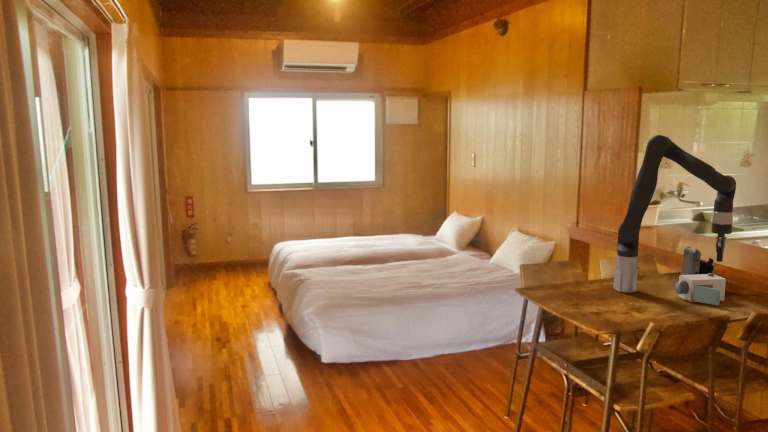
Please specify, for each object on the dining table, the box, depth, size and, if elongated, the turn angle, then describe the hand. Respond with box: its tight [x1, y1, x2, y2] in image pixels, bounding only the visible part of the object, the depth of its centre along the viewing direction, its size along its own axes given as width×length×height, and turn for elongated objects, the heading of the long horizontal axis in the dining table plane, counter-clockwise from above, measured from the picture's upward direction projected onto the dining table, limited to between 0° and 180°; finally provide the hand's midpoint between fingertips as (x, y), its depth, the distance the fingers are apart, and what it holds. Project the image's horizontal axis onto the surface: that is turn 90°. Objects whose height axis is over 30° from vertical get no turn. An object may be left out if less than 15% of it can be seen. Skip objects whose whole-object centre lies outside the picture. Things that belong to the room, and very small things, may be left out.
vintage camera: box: [680, 246, 716, 275], centre depth 270 cm, size 10×15×20 cm, turn 89°
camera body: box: [674, 272, 727, 303], centre depth 253 cm, size 19×9×11 cm, turn 95°
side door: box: [691, 285, 721, 306], centre depth 244 cm, size 11×2×7 cm, turn 50°
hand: (719, 261), depth 242 cm, fingers closed
